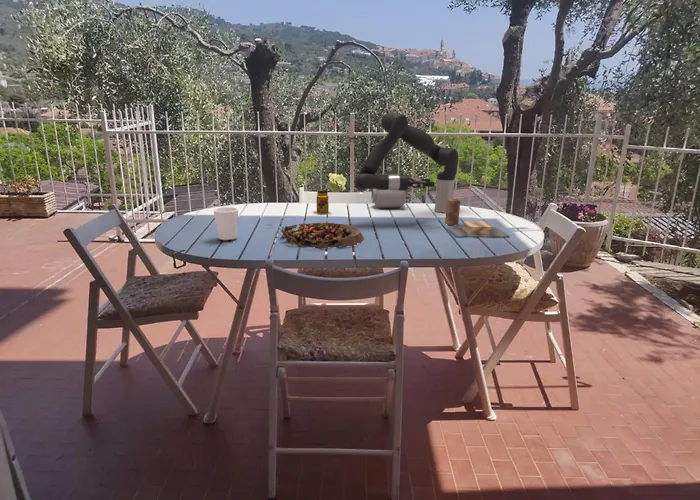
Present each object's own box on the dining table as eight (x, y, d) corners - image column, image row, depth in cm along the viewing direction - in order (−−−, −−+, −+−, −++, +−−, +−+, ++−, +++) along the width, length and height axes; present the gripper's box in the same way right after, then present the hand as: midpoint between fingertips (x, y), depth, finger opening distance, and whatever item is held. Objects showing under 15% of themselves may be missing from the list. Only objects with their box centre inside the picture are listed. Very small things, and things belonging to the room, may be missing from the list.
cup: (227, 244, 197) (225, 213, 193) (210, 240, 202) (208, 210, 198) (244, 238, 205) (243, 208, 201) (227, 235, 210) (226, 205, 206)
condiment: (318, 215, 249) (318, 191, 246) (313, 211, 257) (312, 188, 253) (331, 214, 252) (331, 191, 248) (326, 210, 259) (326, 188, 256)
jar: (405, 204, 255) (358, 196, 256) (401, 220, 268) (356, 212, 268) (409, 176, 265) (363, 168, 266) (404, 193, 278) (361, 186, 278)
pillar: (447, 225, 232) (449, 200, 228) (445, 223, 237) (446, 198, 233) (458, 225, 232) (460, 200, 229) (455, 223, 237) (457, 198, 234)
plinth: (455, 237, 212) (456, 228, 211) (445, 228, 227) (446, 219, 226) (509, 237, 214) (510, 228, 212) (496, 228, 229) (497, 219, 228)
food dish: (266, 246, 199) (265, 228, 197) (303, 229, 228) (303, 213, 226) (346, 254, 186) (346, 234, 184) (374, 235, 216) (374, 218, 214)
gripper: (400, 176, 218) (436, 177, 220) (395, 172, 232) (428, 172, 233) (399, 193, 221) (435, 193, 222) (394, 187, 234) (427, 188, 235)
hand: (431, 182), depth 228 cm, fingers open, 8 cm apart
